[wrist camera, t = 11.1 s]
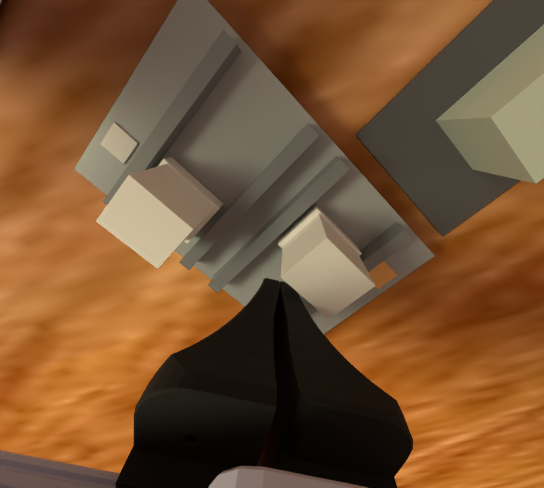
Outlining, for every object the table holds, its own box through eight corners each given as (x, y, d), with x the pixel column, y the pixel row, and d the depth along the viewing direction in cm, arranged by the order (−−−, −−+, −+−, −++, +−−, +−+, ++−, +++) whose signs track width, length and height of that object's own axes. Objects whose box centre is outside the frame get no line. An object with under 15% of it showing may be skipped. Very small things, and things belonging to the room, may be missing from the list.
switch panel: (95, 164, 14) (56, 172, 11) (202, -1, 11) (178, -36, 8) (298, 333, 17) (300, 364, 15) (420, 243, 14) (446, 265, 12)
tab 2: (278, 238, 13) (274, 275, 10) (315, 203, 12) (325, 231, 9) (320, 276, 14) (330, 324, 10) (357, 246, 13) (381, 287, 10)
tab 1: (142, 195, 12) (89, 219, 9) (171, 156, 12) (124, 168, 8) (193, 237, 13) (160, 273, 10) (223, 203, 12) (199, 231, 9)
